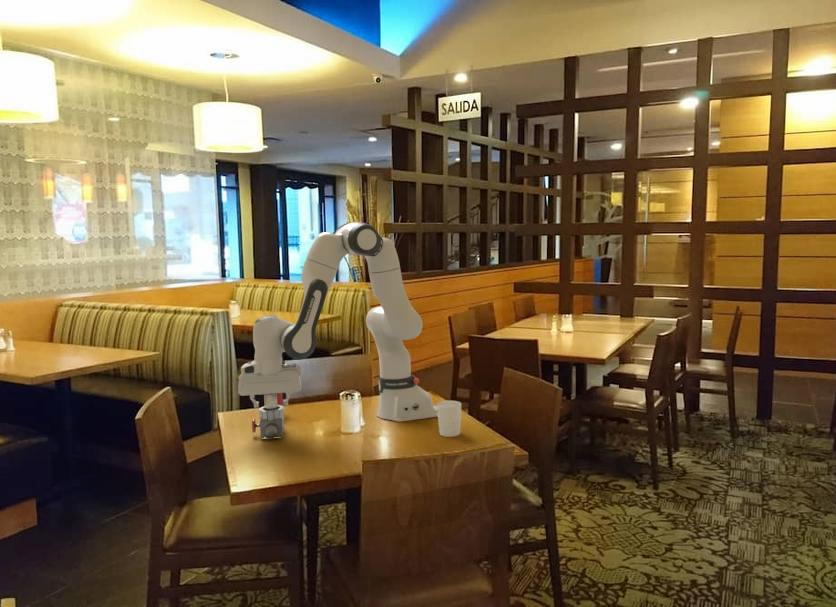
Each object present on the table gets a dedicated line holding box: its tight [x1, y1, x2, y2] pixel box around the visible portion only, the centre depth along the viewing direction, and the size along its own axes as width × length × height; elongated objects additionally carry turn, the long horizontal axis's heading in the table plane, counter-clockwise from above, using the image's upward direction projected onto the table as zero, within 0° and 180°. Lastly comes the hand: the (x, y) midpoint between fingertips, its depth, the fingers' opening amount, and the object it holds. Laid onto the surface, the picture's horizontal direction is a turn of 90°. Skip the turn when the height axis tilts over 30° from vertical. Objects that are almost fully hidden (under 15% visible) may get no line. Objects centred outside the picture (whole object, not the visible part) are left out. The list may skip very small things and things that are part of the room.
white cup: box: [436, 400, 462, 438], centre depth 205 cm, size 8×8×10 cm
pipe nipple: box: [263, 393, 278, 411], centre depth 209 cm, size 4×4×8 cm
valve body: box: [251, 405, 285, 439], centre depth 210 cm, size 10×14×9 cm
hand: (271, 406), depth 210 cm, fingers open, 8 cm apart
